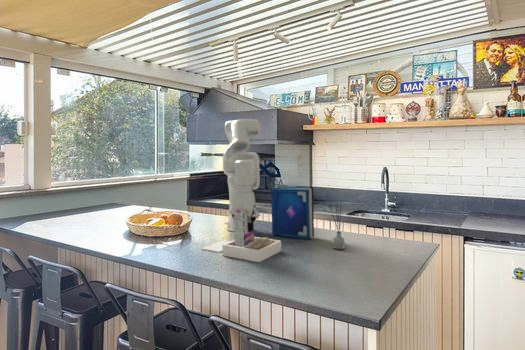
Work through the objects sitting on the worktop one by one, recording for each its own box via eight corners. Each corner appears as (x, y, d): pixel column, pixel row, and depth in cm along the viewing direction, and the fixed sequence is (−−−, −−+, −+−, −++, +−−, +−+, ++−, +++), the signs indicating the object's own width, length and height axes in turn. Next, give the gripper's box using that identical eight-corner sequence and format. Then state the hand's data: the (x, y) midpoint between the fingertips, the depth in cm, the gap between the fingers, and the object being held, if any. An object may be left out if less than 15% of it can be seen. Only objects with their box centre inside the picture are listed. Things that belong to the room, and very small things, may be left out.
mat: (201, 249, 158) (201, 248, 158) (223, 241, 172) (223, 240, 172) (219, 252, 153) (219, 251, 153) (240, 244, 166) (240, 243, 166)
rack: (222, 255, 149) (222, 244, 149) (246, 245, 165) (246, 235, 164) (259, 262, 140) (259, 250, 140) (281, 250, 155) (281, 240, 155)
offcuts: (248, 257, 146) (248, 243, 146) (263, 250, 156) (263, 237, 156) (258, 259, 144) (258, 245, 143) (273, 252, 154) (273, 238, 153)
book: (269, 235, 182) (269, 187, 181) (275, 233, 189) (275, 185, 187) (309, 240, 172) (309, 189, 170) (314, 237, 178) (314, 187, 177)
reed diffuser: (342, 252, 153) (342, 205, 151) (326, 250, 156) (326, 204, 154) (347, 246, 162) (347, 202, 160) (332, 244, 165) (332, 201, 163)
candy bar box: (244, 242, 161) (243, 206, 160) (254, 243, 159) (254, 206, 158) (233, 249, 151) (233, 210, 149) (244, 250, 149) (244, 211, 147)
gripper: (222, 188, 154) (223, 229, 156) (256, 191, 145) (256, 235, 147) (232, 186, 160) (233, 226, 162) (265, 189, 151) (265, 231, 153)
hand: (244, 230), depth 154 cm, fingers closed on candy bar box, 5 cm apart
